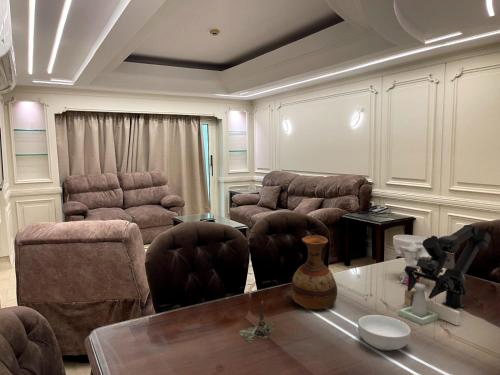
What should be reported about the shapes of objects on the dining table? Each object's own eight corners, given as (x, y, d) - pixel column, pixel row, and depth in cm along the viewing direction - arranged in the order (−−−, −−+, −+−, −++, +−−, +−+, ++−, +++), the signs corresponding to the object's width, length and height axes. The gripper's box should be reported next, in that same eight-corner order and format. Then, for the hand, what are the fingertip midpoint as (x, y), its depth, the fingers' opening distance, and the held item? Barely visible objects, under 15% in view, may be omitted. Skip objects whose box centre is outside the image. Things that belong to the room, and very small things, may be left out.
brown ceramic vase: (284, 308, 154) (286, 237, 152) (297, 292, 172) (299, 229, 170) (332, 316, 146) (334, 242, 144) (339, 299, 165) (342, 233, 163)
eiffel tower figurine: (272, 324, 140) (272, 290, 139) (286, 335, 131) (287, 299, 130) (236, 332, 133) (237, 296, 132) (249, 344, 124) (250, 306, 123)
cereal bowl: (404, 363, 113) (406, 341, 113) (351, 348, 122) (352, 327, 121) (413, 341, 128) (414, 321, 127) (364, 329, 136) (365, 310, 136)
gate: (413, 305, 159) (414, 294, 158) (459, 324, 141) (459, 311, 140) (411, 306, 158) (411, 294, 158) (456, 325, 140) (457, 312, 140)
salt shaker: (425, 320, 143) (427, 287, 142) (409, 316, 146) (411, 284, 145) (427, 315, 148) (429, 283, 147) (412, 311, 151) (413, 280, 150)
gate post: (409, 303, 162) (409, 288, 161) (414, 305, 159) (415, 290, 159) (404, 304, 160) (405, 289, 160) (410, 307, 158) (410, 291, 157)
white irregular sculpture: (382, 277, 197) (384, 235, 195) (411, 275, 203) (413, 234, 201) (415, 294, 173) (418, 246, 172) (448, 290, 179) (450, 244, 177)
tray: (414, 310, 154) (414, 305, 154) (438, 319, 146) (438, 314, 145) (398, 315, 149) (398, 310, 149) (422, 325, 140) (422, 319, 140)
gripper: (407, 246, 156) (389, 276, 151) (451, 256, 140) (433, 290, 135) (418, 262, 160) (401, 291, 155) (461, 274, 145) (444, 306, 140)
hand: (418, 294), depth 146 cm, fingers open, 9 cm apart
